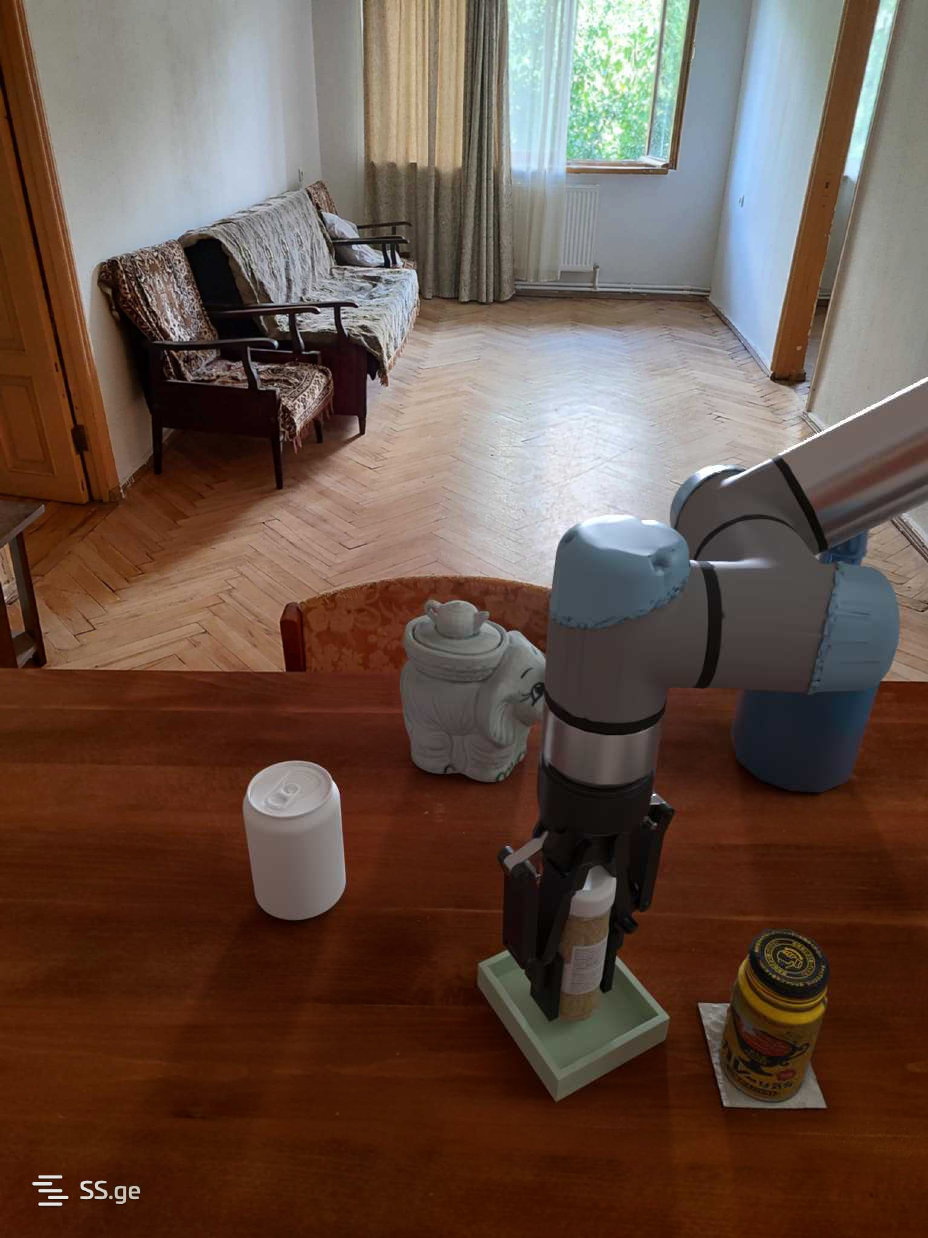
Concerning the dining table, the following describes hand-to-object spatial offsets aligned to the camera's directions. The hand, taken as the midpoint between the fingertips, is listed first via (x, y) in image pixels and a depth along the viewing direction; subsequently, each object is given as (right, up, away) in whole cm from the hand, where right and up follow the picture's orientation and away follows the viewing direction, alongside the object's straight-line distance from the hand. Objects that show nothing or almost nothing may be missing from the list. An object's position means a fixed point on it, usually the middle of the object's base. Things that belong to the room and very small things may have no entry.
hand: (570, 992), depth 68 cm
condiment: (+14, -4, -2) cm, 15 cm away
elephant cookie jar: (-6, +13, +28) cm, 32 cm away
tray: (0, -2, +1) cm, 2 cm away
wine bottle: (+28, +13, +29) cm, 42 cm away
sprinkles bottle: (0, -1, 0) cm, 1 cm away
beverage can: (-23, +4, +12) cm, 26 cm away
